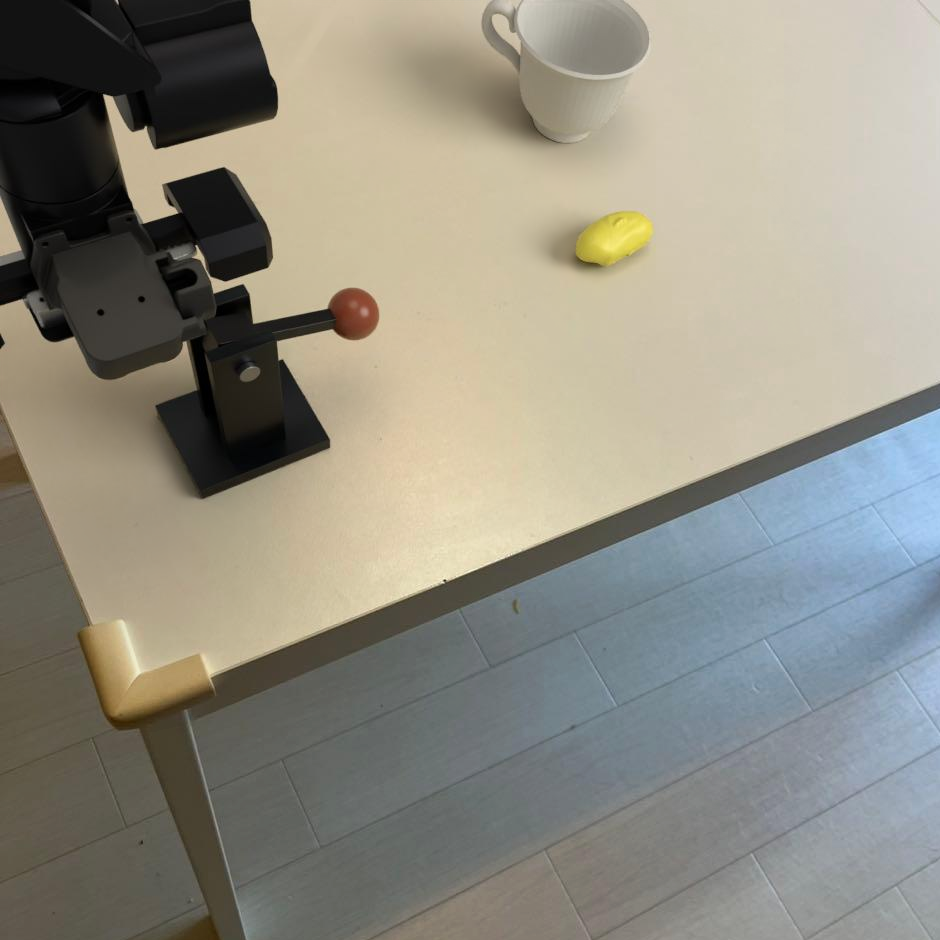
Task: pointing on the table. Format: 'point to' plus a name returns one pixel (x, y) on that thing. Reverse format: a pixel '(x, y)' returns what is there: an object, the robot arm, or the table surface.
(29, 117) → the robot arm
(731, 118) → the table surface
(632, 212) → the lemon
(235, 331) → the lever
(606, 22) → the teacup
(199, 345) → the bracket
